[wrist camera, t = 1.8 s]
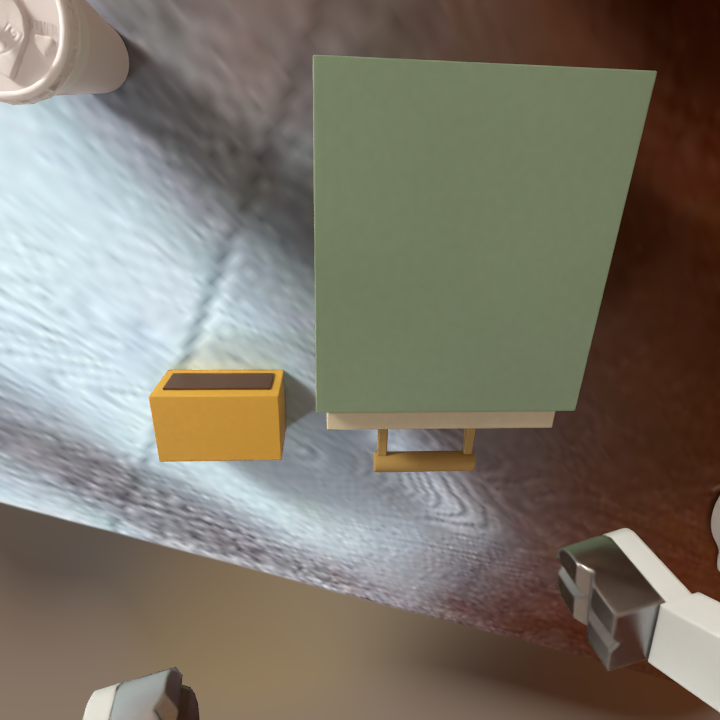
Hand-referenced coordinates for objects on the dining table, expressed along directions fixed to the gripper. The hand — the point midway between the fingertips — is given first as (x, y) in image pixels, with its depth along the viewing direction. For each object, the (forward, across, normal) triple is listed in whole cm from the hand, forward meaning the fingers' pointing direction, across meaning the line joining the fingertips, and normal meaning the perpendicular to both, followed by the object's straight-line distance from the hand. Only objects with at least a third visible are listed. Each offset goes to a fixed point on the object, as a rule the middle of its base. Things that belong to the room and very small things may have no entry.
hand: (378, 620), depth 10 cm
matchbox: (+26, -7, -9) cm, 29 cm away
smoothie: (+28, -8, +14) cm, 33 cm away
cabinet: (+25, +10, +1) cm, 27 cm away
